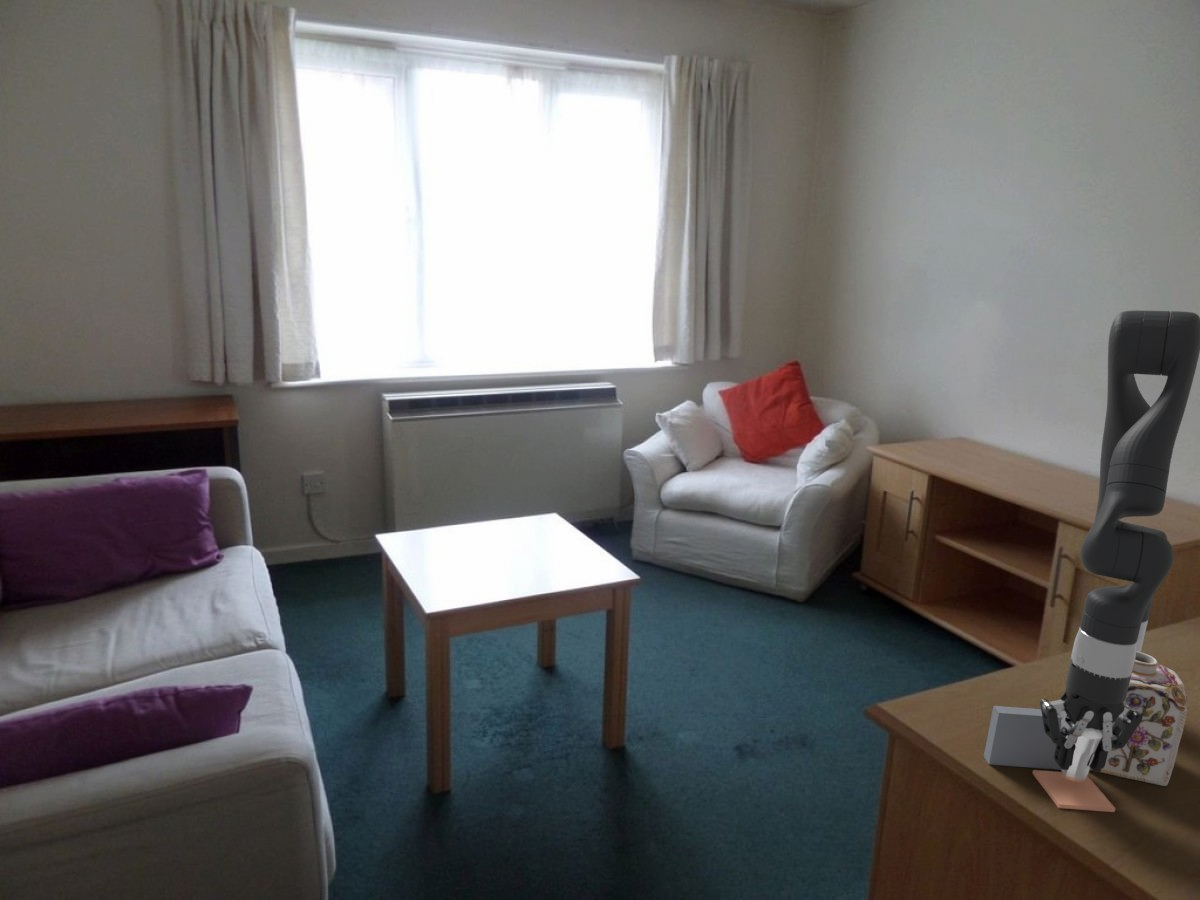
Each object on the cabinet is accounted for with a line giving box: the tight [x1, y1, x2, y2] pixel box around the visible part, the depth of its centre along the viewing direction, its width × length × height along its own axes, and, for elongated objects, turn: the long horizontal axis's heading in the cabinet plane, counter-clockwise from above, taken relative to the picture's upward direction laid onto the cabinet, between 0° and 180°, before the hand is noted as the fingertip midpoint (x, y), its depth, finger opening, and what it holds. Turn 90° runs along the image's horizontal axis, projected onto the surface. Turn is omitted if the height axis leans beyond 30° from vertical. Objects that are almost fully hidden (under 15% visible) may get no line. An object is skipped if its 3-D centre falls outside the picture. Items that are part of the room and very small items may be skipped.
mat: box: [1032, 769, 1116, 813], centre depth 122 cm, size 8×8×1 cm
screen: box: [983, 705, 1065, 771], centre depth 128 cm, size 13×2×9 cm, turn 88°
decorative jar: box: [1089, 651, 1189, 787], centre depth 129 cm, size 12×12×18 cm
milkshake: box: [1060, 721, 1103, 783], centre depth 121 cm, size 4×5×10 cm
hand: (1077, 767), depth 121 cm, fingers closed on milkshake, 4 cm apart
